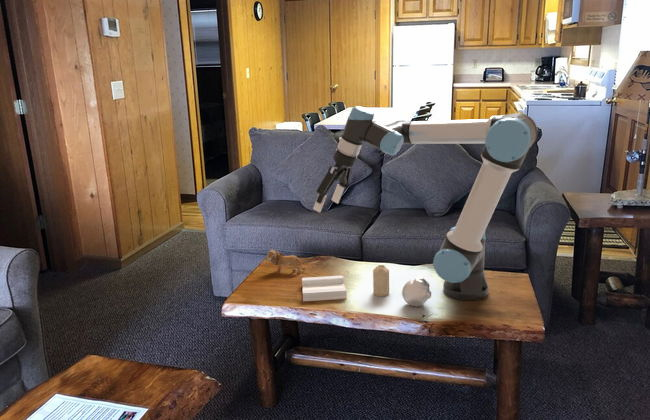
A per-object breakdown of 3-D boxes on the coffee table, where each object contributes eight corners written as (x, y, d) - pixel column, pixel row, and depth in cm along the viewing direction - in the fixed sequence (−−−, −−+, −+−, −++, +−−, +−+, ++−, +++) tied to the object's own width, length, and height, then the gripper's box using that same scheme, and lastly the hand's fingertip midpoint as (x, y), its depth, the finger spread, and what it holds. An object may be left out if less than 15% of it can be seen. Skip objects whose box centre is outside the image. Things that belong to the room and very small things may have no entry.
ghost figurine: (423, 314, 172) (423, 285, 169) (397, 306, 177) (397, 279, 175) (435, 303, 179) (436, 275, 176) (410, 296, 184) (410, 269, 182)
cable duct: (343, 282, 198) (342, 275, 197) (346, 298, 185) (346, 290, 184) (302, 285, 197) (302, 277, 196) (303, 301, 184) (302, 293, 184)
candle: (388, 296, 185) (388, 269, 182) (372, 296, 186) (372, 269, 183) (389, 290, 190) (389, 263, 188) (374, 289, 191) (373, 263, 189)
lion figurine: (267, 274, 209) (265, 252, 206) (269, 269, 214) (268, 247, 212) (305, 273, 208) (303, 252, 205) (306, 268, 213) (305, 247, 210)
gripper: (353, 142, 191) (333, 193, 200) (320, 152, 170) (299, 208, 179) (371, 151, 189) (350, 203, 197) (339, 162, 167) (317, 219, 176)
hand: (325, 206), depth 188 cm, fingers open, 13 cm apart
